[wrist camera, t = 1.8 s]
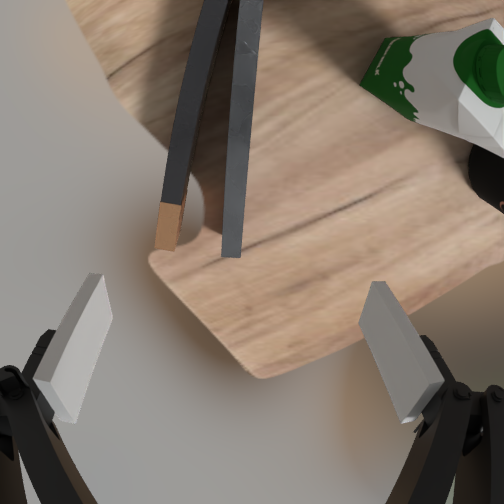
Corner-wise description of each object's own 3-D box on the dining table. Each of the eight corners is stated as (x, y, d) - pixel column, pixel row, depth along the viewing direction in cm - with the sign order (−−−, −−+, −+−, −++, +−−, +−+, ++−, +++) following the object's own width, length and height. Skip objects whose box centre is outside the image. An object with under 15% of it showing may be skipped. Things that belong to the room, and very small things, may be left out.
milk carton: (381, 27, 26) (511, 4, 9) (439, 73, 28) (572, 96, 11) (348, 87, 30) (468, 107, 12) (409, 129, 32) (535, 188, 15)
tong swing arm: (213, -6, 24) (209, -19, 20) (233, -3, 24) (233, -16, 20) (163, 227, 37) (154, 247, 32) (180, 231, 37) (174, 251, 33)
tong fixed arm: (223, -41, 22) (222, -59, 17) (266, -39, 22) (271, -56, 18) (203, 234, 38) (200, 256, 33) (241, 236, 38) (242, 257, 34)
